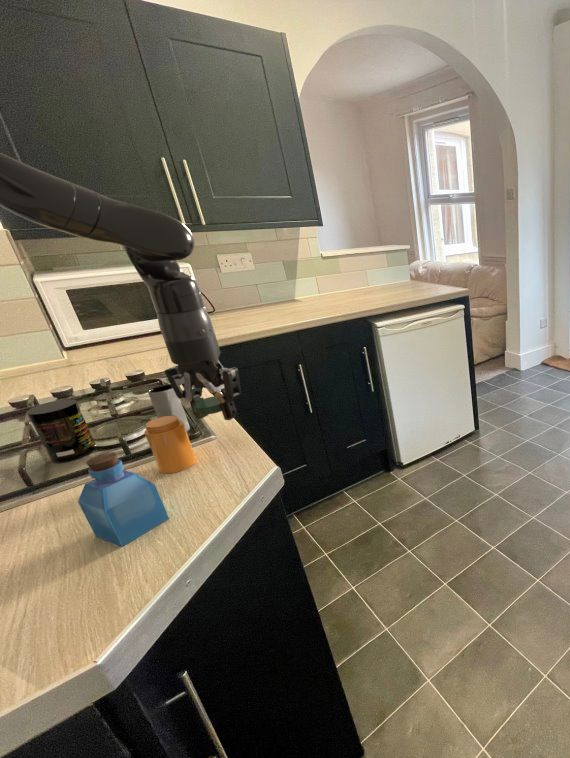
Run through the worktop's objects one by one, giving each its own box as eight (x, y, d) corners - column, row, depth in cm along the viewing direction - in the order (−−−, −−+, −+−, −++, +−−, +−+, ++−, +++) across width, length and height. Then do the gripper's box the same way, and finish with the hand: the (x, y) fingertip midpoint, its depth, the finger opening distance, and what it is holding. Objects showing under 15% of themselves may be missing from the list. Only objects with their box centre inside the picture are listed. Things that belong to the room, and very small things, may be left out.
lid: (224, 400, 85) (222, 393, 85) (235, 407, 82) (233, 400, 81) (191, 409, 81) (189, 402, 80) (201, 417, 78) (198, 410, 77)
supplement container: (100, 442, 87) (79, 396, 84) (95, 455, 82) (73, 407, 78) (55, 452, 84) (31, 405, 80) (47, 467, 79) (21, 417, 75)
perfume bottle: (122, 546, 59) (87, 474, 54) (95, 536, 61) (60, 466, 56) (169, 518, 64) (140, 450, 60) (143, 510, 66) (113, 444, 62)
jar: (153, 475, 75) (134, 430, 72) (168, 459, 80) (151, 416, 77) (189, 470, 76) (172, 425, 73) (201, 455, 81) (186, 412, 78)
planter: (169, 438, 88) (152, 393, 84) (160, 433, 90) (143, 389, 86) (193, 430, 91) (178, 386, 88) (185, 425, 94) (169, 382, 90)
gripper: (240, 329, 78) (262, 411, 84) (174, 328, 80) (201, 408, 87) (206, 340, 71) (234, 428, 78) (135, 339, 74) (168, 424, 80)
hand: (216, 417), depth 82 cm, fingers closed on lid, 5 cm apart
